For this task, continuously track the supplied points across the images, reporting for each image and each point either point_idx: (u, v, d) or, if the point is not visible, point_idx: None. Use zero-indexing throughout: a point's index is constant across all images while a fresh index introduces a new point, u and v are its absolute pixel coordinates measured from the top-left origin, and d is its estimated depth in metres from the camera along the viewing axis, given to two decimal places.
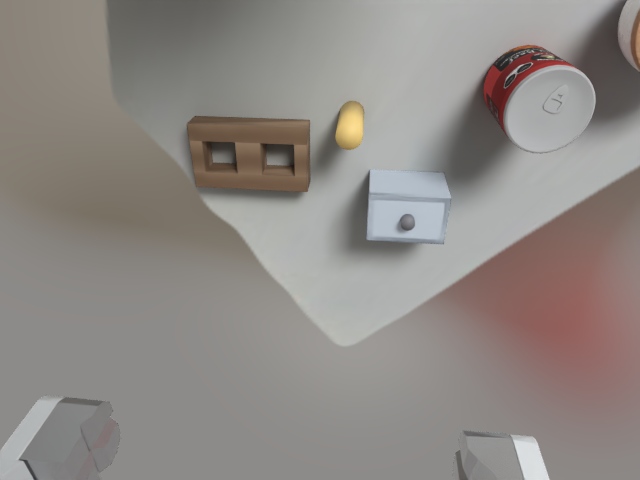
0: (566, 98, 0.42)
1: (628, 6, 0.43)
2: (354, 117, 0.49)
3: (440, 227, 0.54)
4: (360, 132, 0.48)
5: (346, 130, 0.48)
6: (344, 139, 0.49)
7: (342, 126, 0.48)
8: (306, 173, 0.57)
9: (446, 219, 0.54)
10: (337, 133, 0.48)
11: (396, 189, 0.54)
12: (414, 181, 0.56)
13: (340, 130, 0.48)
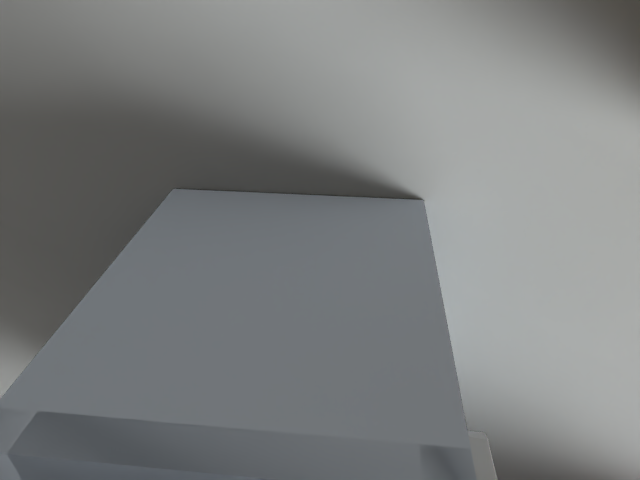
0: None
1: None
2: None
3: None
4: None
5: None
6: None
7: None
8: None
9: None
10: None
11: None
12: None
13: None
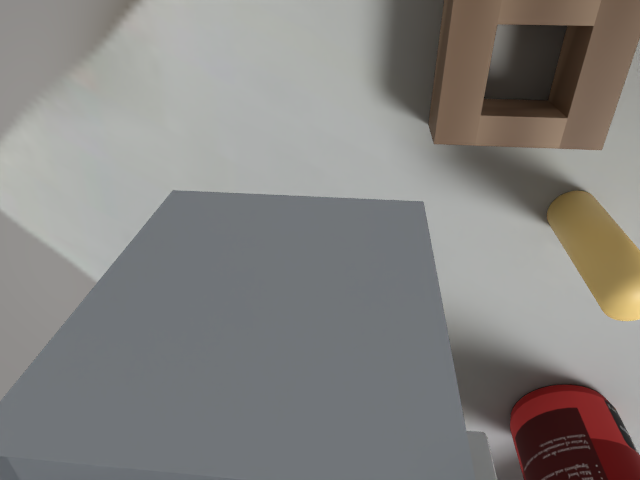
0: None
1: None
2: None
3: None
4: (636, 317, 0.22)
5: None
6: (631, 289, 0.21)
7: None
8: (485, 145, 0.23)
9: None
10: None
11: None
12: None
13: None
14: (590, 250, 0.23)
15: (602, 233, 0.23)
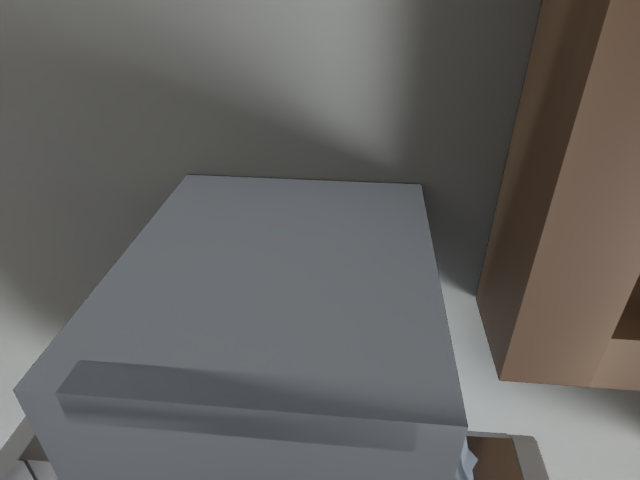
0: None
1: None
2: None
3: None
4: None
5: None
6: None
7: None
8: (612, 387, 0.11)
9: None
10: None
11: None
12: None
13: None
14: None
15: None
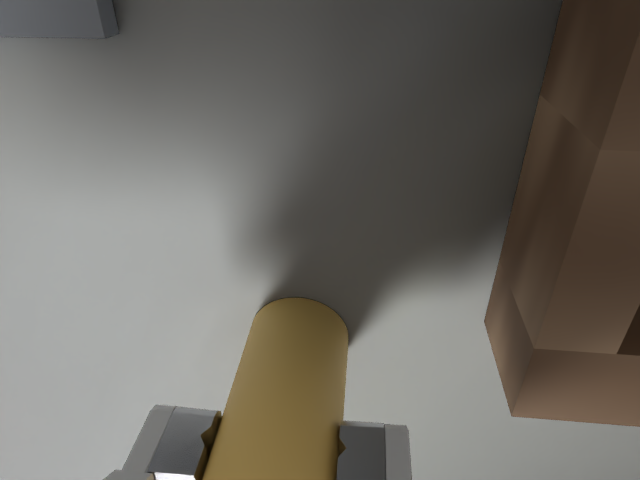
0: None
1: None
2: None
3: None
4: None
5: None
6: None
7: None
8: (593, 181, 0.07)
9: None
10: None
11: None
12: None
13: None
14: None
15: None
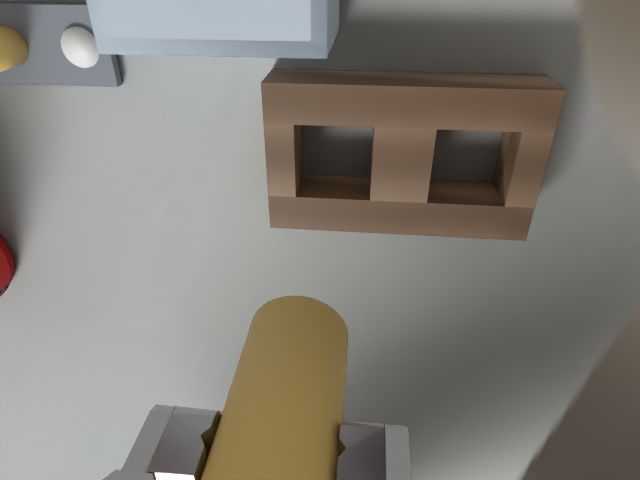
0: None
1: None
2: None
3: None
4: None
5: None
6: None
7: None
8: (265, 133, 0.24)
9: None
10: None
11: None
12: None
13: None
14: None
15: None
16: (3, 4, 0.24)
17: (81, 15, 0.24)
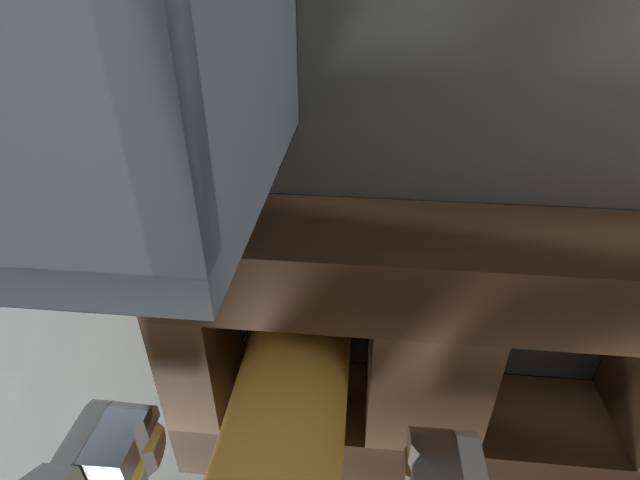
0: None
1: None
2: None
3: None
4: None
5: None
6: None
7: None
8: (144, 338, 0.11)
9: None
10: None
11: None
12: None
13: None
14: (311, 450, 0.09)
15: (341, 441, 0.10)
16: None
17: None
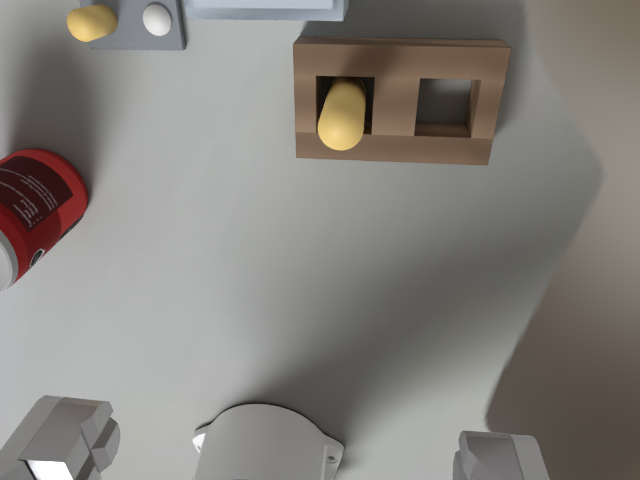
0: None
1: None
2: None
3: None
4: (321, 135, 0.29)
5: (344, 138, 0.29)
6: (347, 124, 0.29)
7: (351, 145, 0.29)
8: (294, 82, 0.32)
9: None
10: (359, 134, 0.29)
11: None
12: None
13: (354, 138, 0.29)
14: (355, 98, 0.30)
15: (364, 105, 0.31)
16: None
17: None
